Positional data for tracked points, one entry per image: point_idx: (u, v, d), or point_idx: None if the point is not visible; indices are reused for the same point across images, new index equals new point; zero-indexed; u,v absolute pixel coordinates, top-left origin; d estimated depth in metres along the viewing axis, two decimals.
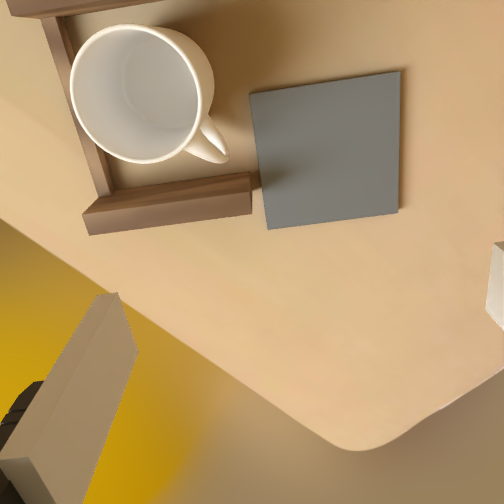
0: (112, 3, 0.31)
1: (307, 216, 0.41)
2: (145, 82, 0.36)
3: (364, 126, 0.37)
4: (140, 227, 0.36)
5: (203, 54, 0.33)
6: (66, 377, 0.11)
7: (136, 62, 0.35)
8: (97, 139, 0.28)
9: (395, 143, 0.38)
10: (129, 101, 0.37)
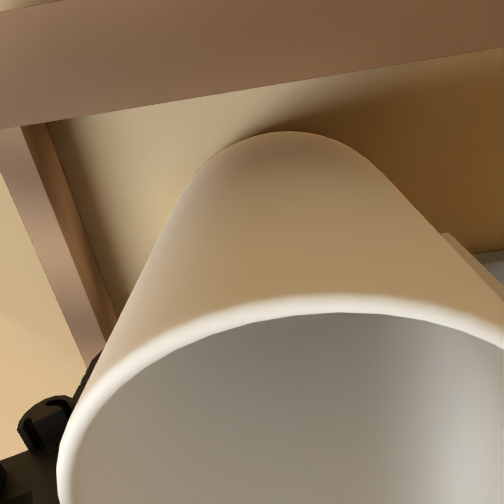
0: None
1: None
2: None
3: None
4: None
5: None
6: None
7: None
8: None
9: None
10: None
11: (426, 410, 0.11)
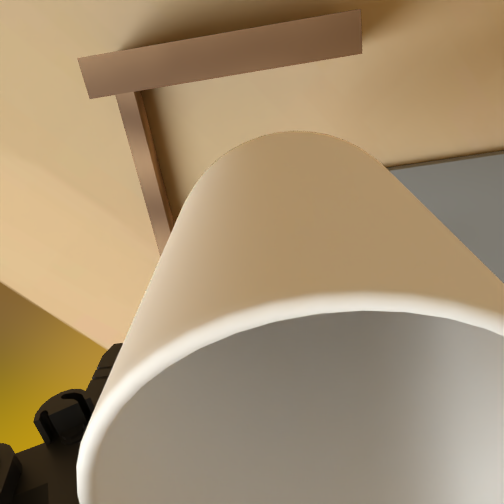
0: None
1: None
2: None
3: (501, 209, 0.30)
4: None
5: None
6: None
7: None
8: None
9: None
10: None
11: (437, 409, 0.11)
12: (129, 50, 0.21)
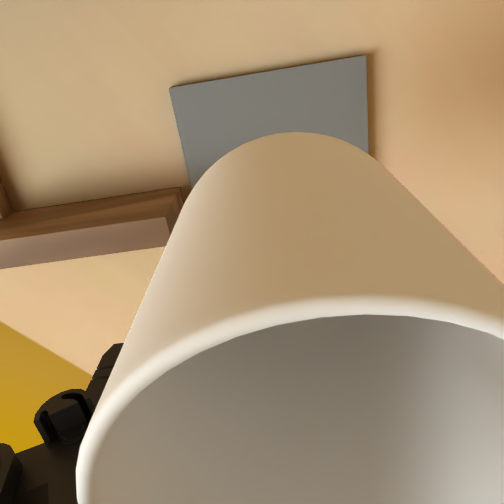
0: None
1: None
2: None
3: (322, 128, 0.29)
4: (28, 263, 0.28)
5: None
6: None
7: None
8: None
9: (363, 149, 0.29)
10: None
11: (437, 411, 0.11)
12: None
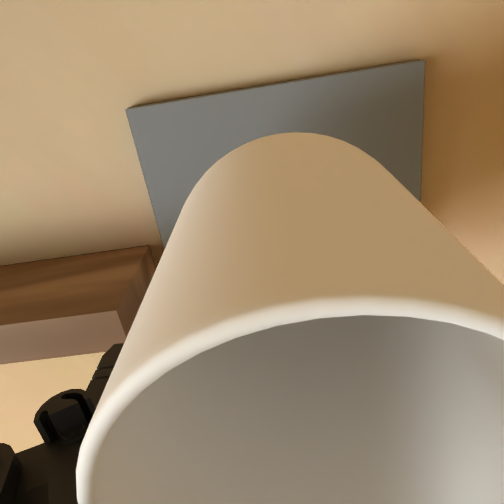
0: None
1: None
2: None
3: None
4: None
5: None
6: None
7: None
8: None
9: None
10: None
11: (437, 412, 0.11)
12: None
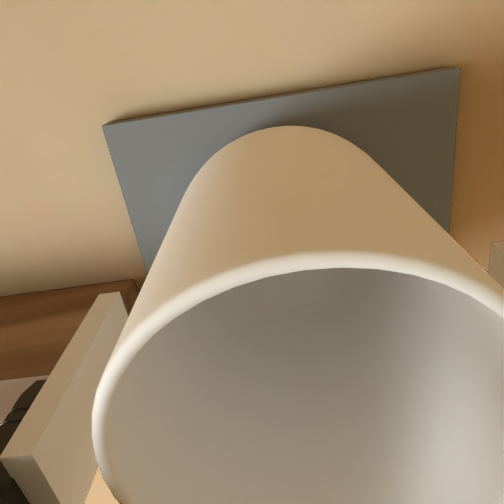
0: None
1: None
2: None
3: None
4: None
5: None
6: (69, 376, 0.11)
7: None
8: None
9: (441, 226, 0.17)
10: None
11: (418, 382, 0.12)
12: None
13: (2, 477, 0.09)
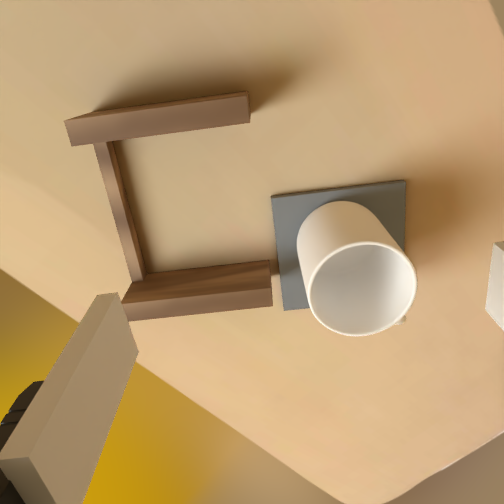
0: None
1: None
2: None
3: None
4: (171, 315, 0.40)
5: None
6: (66, 377, 0.11)
7: None
8: (320, 318, 0.34)
9: (401, 240, 0.42)
10: None
11: (388, 289, 0.37)
12: (98, 116, 0.33)
13: None
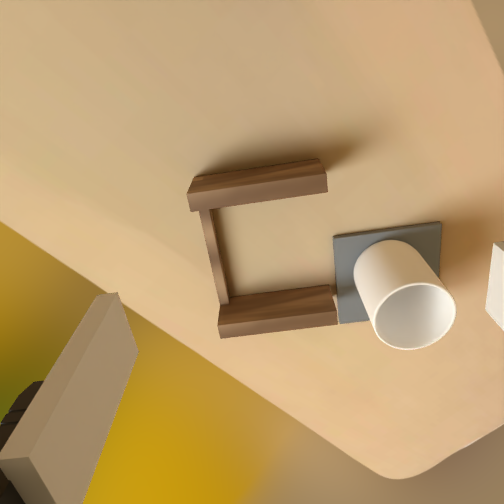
0: None
1: None
2: None
3: None
4: (257, 333, 0.51)
5: None
6: (66, 377, 0.11)
7: None
8: (382, 337, 0.45)
9: (436, 267, 0.53)
10: None
11: (430, 311, 0.48)
12: (212, 190, 0.43)
13: None
